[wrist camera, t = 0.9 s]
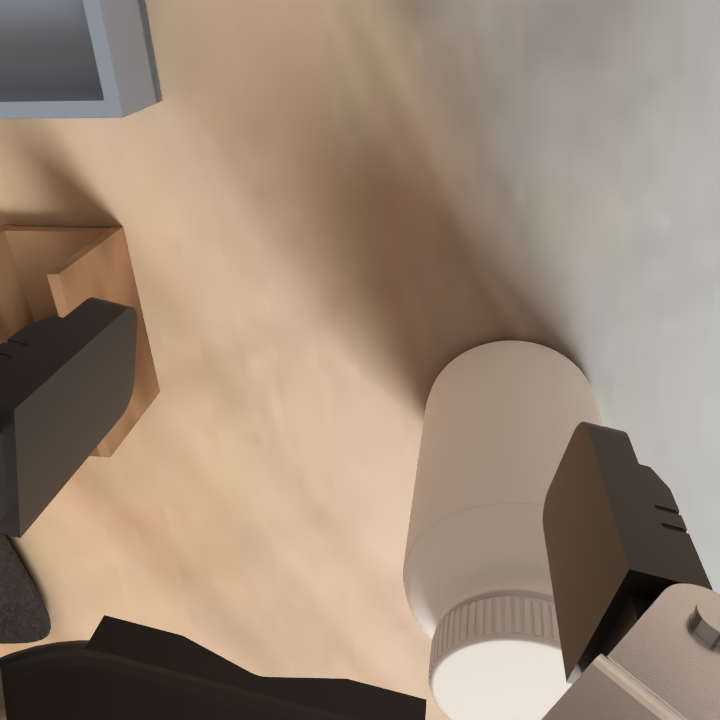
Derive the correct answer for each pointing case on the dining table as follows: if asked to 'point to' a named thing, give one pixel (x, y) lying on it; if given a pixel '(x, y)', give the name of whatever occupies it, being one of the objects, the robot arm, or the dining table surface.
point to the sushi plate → (19, 601)
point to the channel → (74, 294)
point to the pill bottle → (492, 528)
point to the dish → (76, 59)
